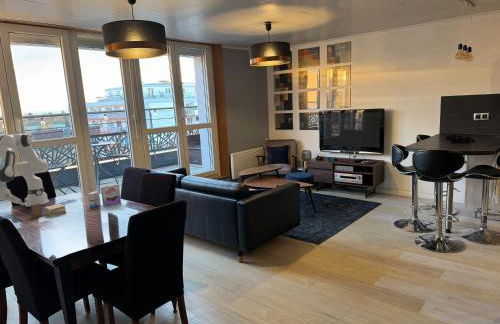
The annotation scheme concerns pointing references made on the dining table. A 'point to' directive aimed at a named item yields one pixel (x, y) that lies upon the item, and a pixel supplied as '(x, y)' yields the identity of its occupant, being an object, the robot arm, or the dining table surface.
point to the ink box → (94, 199)
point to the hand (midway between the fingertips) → (21, 203)
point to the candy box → (110, 195)
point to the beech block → (55, 210)
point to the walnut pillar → (36, 210)
